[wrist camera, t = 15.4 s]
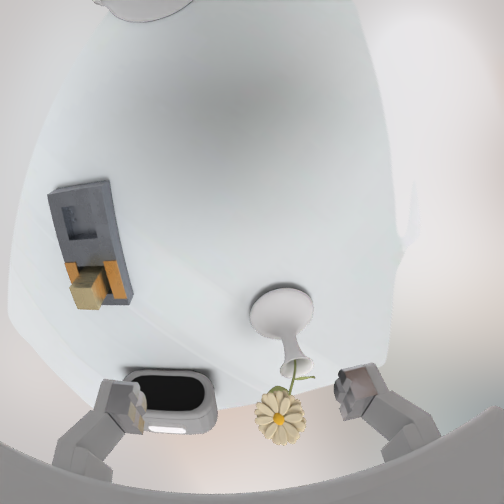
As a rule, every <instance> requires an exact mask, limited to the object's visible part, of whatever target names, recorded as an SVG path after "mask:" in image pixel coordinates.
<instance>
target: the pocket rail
mask: <svg viewBox="0 0 504 504" xmlns="http://www.w3.org/2000/svg"><path fill="white" fill-rule="evenodd" d="M47 196H48V201H49V206H50V210H51V215H52V219H53V223H54V227H55V231H56V234H57V238H58V241H59V245H60V248H61V252H62V255H63V258H64V261H65V266H66V269H67V272H68V275H69V278H70V281H71V283H73V282H74V280H75V279H76V277H77V276H78V275H79V273H80V272H81V270H82V269H83V268H84V266H104V267H105V270H106V273H107V277H108V280H109V283H110V289H109V291H108V293H107V295H106V297H105V299H104V301H103V303H102V305H130V302H131V300H132V297H133V295H134V294H133V291H132V287H131V283H130V280H129V276H128V272H127V268H126V264H125V260H124V256H123V251H122V247H121V242H120V238H119V233H118V228H117V223H116V218H115V212H114V207H113V201H112V194H111V188H110V181H109V180H108V181H101V182H94V183H88V184H81V185H76V186H70V187H64V188H59V189H56V190H54V191H53V192H51V193H49V194H48V195H47Z"/></svg>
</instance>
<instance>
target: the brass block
mask: <svg viewBox="0 0 504 504" xmlns="http://www.w3.org/2000/svg"><path fill="white" fill-rule="evenodd" d="M69 288H70V291H71V294H72V296H73V299H74V301H75V304H76V306H77V308H78V309H86V310H99V309H100V307H101V305H102V303H103V301H104V299H105V297H106V295H107V293H108V291H109V289H110V283H109V280H108V277H107V273H106V270H105V267H104V266H84V268H83V269H82V270H81V272H80V273H79V275H78V276H77V277H76V279H75V280H74V282H73V283H72V285H71V286H70V287H69Z"/></svg>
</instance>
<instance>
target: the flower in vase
mask: <svg viewBox="0 0 504 504" xmlns="http://www.w3.org/2000/svg"><path fill="white" fill-rule="evenodd" d="M313 311H314V306H313V302H312V300H311V298H310V297H309V296H308V295H307V294H306V293H304V292H302V291H300V290H297V289H292V288H280V289H276V290H272V291H270V292H268V293H266V294H264V295H263V296H262V297H260V298H259V299H258V300H257V301H256V302H255V304H254V305H253V307H252V309H251V311H250V322H251V325H252V326H253V328H254V329H255V330H256V332H258V333H259V334H260V335H262V336H264V337H266V338H270V339H276V340H282V342H283V345H284V351H285V360H284V363H283V365H282V366H281V368H280V373H281V375H282V376H284V377H286V378H292V382H291V386H290V389H289V391H288V390H287V389H285V388H283V387H281V386H275V387H273V388H272V389H271V390H270V391H269V392H268V393H267V394H263V395H262V399H261V400H262V403H261V402H257V404H256V407H257V408H258V409H256V410H255V414H256V415H257V418H256V419H255V423H256V424H259V430H260V431H262V434H264V436H265V438H267V439H272V441H273V443H275V444H277V445H280V444H282V445H283V446H285V445H286V444H287V441H288V442H289V443H291V444H295V443H296V440H298V439H299V438H300V434H299V432H304V429H305V428H306V424H305V423H306V419H305V418H304V417H302V416H303V415H304V411H303V410H302V407H301V402H300V400H298V399H296V400H295V398H294V396H293V395H291V391H292V387H293V383H294V380H304V379H308V378H315V377H314V376H310V377H301V376H304V375H306V374H308V373H309V372H310V371H311V370H312V369H313V367H314V362H313V360H312V359H310V358H308V357H306V356H305V355H304V354H303V353H302V351H301V349H300V347H299V345H298V342H297V339H296V335H297V334H299V333H300V332H302V331H303V330H304V329H305V328H306V327H307V326H308V324H309V323H310V321H311V320H312V317H313ZM298 377H299V378H298ZM288 392H289V394H288Z"/></svg>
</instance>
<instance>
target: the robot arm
mask: <svg viewBox="0 0 504 504" xmlns="http://www.w3.org/2000/svg"><path fill="white" fill-rule="evenodd" d="M93 1H94V3H96V4H98V5H101V6H106V7H107V8H108V9H109V10H110V11H111V12H112V13H113V14H114V15H115V16H116V17H118V18H120V19H122V20H125V21H129V22H147V21H153V20H157V19H161V18H164V17H166V16H169V15H171V14H173V13H175V12H177V11H179V10H180V9H182V8H184V7H185V6H186V5H188V4H189V3H190V2H191V1H192V0H93ZM338 376H339V378H338V379H337V380H336V381H335V384H334V394H335V397H336V400H337V401H338V402H339V403H341V406H340V408H339V409H340V412H341V415H342V418H343V421H346V420H350V419H355V418H359V417H362V419H364V420H365V421H366V422H367V423H368V424H369V425H371V426H372V427H373V428H374V429H375V430H376V431H378V432H379V433H380V434H381V435H382V436H384V437H385V438H386V439H387V440H388V441H389V442H388V443H387V444H386V445H385V446H384V447H383V448H382V450H381V452H382V456H383V458H384V461H385V463H383V464H380V465H377V466H374V467H372V468H369V469H366V470H363V471H359V472H356V473H353V474H350V475H346V476H343V477H339V478H335V479H331V480H327V481H323V482H318V483H314V484H309V485H304V486H298V487H293V488H286V489H279V490H271V491H263V492H252V493H236V494H191V493H175V492H174V493H173V492H164V491H155V490H148V489H141V488H135V487H129V486H124V485H119V484H114V483H112V474H113V470H112V469H111V468H110V467H109V466H108V465H106V464H105V463H104V462H103V461H104V459H105V458H106V457H107V456H108V454H109V453H110V452H111V451H112V449H113V448H114V447H115V446H116V444H117V443H118V442H119V441H120V440H121V438H122V437H123V435H125V433H130V434H141V435H143V431H144V424H145V421H144V420H143V418H142V416H143V415H144V414H145V413H146V409H147V402H146V397H145V395H144V393H143V392H142V391H140V385H139V384H138V382H127V381H116V380H108V379H104V380H103V381H102V382H101V385H100V389H99V392H98V396H97V399H96V403H95V406H94V410H93V411H92V410H90V411H89V412H88V413H87V414H86V415H85V416H84V417H83V418H82V419H80V420H79V421H78V422H77V423H76V424H75V425H74V426H73V427H72V428H70V429H69V430H68V431H67V432H66V433H65V434H64V435H63V436H62V437H61V438H59V440H58V442H57V446H56V450H55V454H54V458H53V462H52V465H50V464H48V463H45V462H43V461H40V460H38V459H36V458H33V457H31V456H29V455H26V454H24V453H22V452H20V451H18V450H16V449H14V448H11V447H10V446H8V445H6V444H4V443H2V442H0V504H504V409H502V408H500V407H497V406H491V407H489V408H487V409H486V410H484V411H483V412H482V413H480V414H479V415H477V416H476V417H474V418H473V419H471V420H469V421H468V422H466V423H465V424H463V425H462V426H460V427H458V428H456V429H455V430H453V431H451V432H450V433H448V434H446V435H444V436H442V437H441V435H440V432H439V430H438V428H437V427H436V424H435V422H434V421H433V418H432V417H431V415H430V414H429V413H427V412H426V411H424V410H422V409H421V408H419V407H418V406H416V405H414V404H412V403H411V402H409V401H408V400H406V399H404V398H403V397H401V396H400V395H398V394H397V393H395V392H393V391H389V390H388V388H387V386H386V384H385V382H384V380H383V378H382V376H381V374H380V372H379V370H378V368H377V366H376V364H374V363H368V364H364V365H359V366H354V367H350V368H345V369H341V370H340V371H339V373H338Z"/></svg>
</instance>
